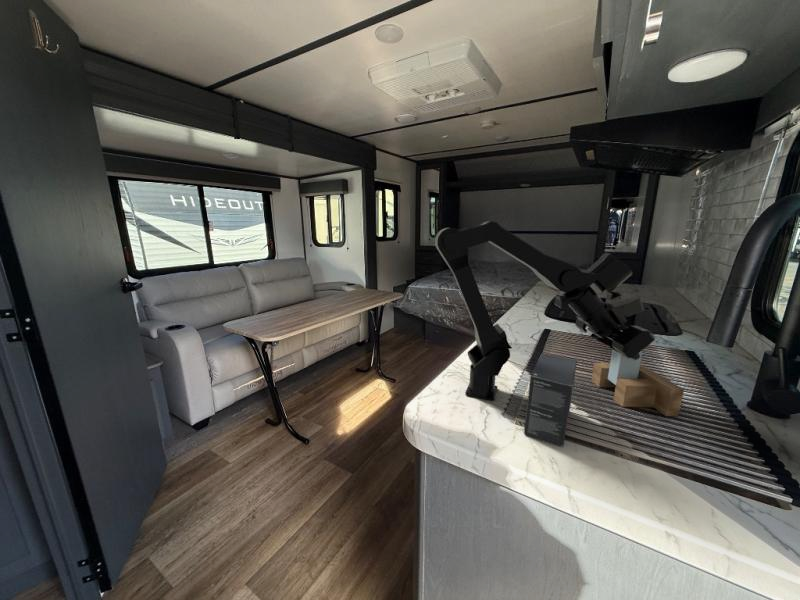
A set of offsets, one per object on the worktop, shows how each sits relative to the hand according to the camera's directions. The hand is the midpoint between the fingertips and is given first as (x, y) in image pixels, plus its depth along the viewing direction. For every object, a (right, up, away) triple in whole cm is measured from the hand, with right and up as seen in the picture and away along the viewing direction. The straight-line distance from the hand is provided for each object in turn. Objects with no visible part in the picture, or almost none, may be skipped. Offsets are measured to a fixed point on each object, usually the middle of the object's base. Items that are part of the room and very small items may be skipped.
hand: (632, 355), depth 70 cm
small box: (-23, -12, -9) cm, 28 cm away
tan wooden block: (0, -9, +2) cm, 9 cm away
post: (-1, -6, +2) cm, 7 cm away
